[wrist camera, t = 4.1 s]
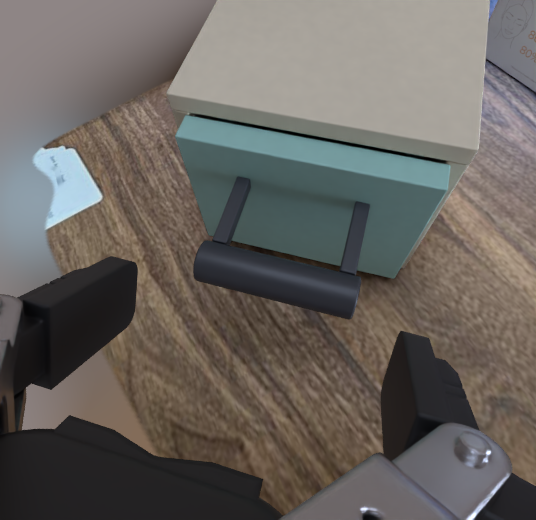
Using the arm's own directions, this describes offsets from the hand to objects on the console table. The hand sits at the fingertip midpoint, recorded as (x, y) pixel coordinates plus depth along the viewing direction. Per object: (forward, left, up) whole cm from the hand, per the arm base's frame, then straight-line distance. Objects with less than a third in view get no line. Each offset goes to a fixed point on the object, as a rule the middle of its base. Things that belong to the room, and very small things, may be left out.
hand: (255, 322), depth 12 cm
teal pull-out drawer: (-2, +11, -8) cm, 14 cm away
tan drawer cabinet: (-3, +15, -9) cm, 18 cm away
